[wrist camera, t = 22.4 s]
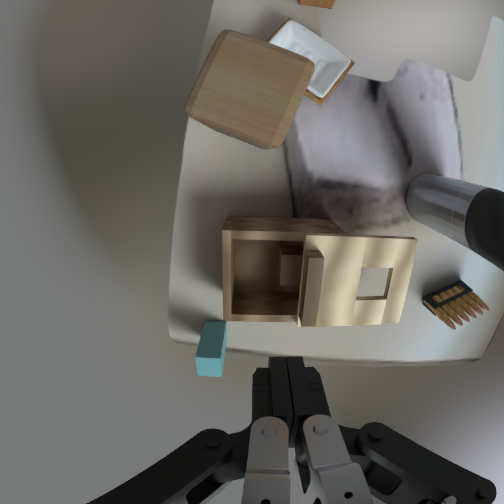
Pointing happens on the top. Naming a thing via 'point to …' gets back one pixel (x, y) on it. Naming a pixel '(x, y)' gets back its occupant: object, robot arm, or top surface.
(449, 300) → the ammunition clip
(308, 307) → the lid
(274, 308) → the wooden box
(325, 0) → the arch
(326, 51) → the soap dish
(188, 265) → the top surface
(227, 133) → the wooden block
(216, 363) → the teal block
